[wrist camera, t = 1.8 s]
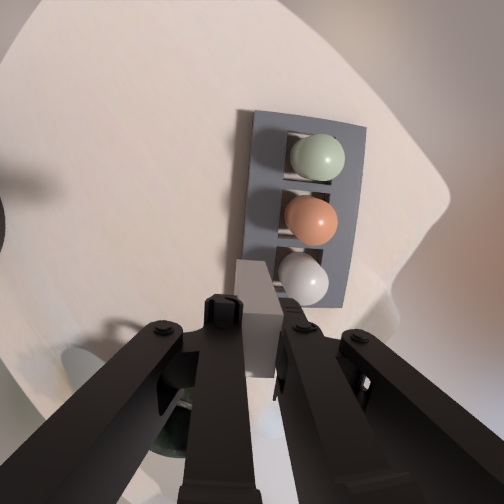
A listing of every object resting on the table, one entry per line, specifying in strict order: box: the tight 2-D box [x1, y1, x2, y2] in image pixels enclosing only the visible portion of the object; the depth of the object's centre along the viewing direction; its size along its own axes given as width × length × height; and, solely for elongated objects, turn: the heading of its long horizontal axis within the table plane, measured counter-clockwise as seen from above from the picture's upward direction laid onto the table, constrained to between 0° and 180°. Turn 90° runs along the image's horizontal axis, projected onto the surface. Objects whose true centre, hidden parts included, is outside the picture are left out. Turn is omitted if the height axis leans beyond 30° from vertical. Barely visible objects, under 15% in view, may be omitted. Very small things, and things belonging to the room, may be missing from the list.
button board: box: [241, 110, 367, 308], centre depth 40 cm, size 14×24×2 cm, turn 175°
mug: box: [149, 387, 194, 458], centre depth 39 cm, size 11×15×12 cm
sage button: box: [290, 134, 345, 181], centre depth 35 cm, size 5×5×5 cm
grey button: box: [278, 252, 329, 306], centre depth 38 cm, size 5×5×5 cm
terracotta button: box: [284, 195, 338, 246], centre depth 36 cm, size 5×5×5 cm
